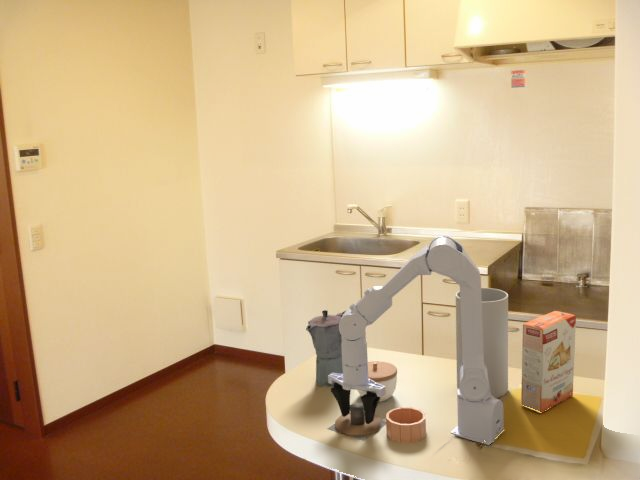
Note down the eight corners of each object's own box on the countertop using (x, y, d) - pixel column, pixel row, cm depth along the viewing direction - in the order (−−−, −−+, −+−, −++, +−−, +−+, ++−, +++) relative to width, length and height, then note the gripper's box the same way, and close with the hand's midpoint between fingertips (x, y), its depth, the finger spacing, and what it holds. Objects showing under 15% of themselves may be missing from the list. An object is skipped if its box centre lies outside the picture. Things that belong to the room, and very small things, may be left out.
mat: (388, 424, 153) (388, 422, 153) (363, 442, 146) (363, 440, 146) (353, 413, 160) (353, 411, 159) (327, 430, 152) (327, 428, 152)
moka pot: (299, 384, 178) (295, 312, 174) (341, 367, 188) (337, 299, 184) (324, 394, 171) (319, 320, 167) (365, 376, 181) (362, 305, 177)
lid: (389, 422, 153) (388, 402, 152) (363, 441, 145) (362, 420, 144) (352, 411, 160) (351, 392, 159) (326, 428, 152) (324, 409, 151)
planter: (433, 431, 149) (432, 413, 148) (413, 448, 142) (412, 428, 141) (400, 422, 154) (399, 403, 153) (379, 437, 148) (378, 418, 147)
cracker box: (542, 415, 153) (543, 328, 149) (520, 407, 158) (520, 323, 154) (575, 396, 162) (577, 314, 158) (552, 389, 167) (554, 309, 163)
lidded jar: (396, 408, 161) (394, 372, 159) (352, 407, 163) (350, 370, 161) (399, 389, 171) (398, 355, 169) (358, 388, 173) (356, 354, 172)
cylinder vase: (476, 375, 177) (475, 284, 172) (517, 389, 168) (518, 293, 163) (446, 390, 169) (445, 295, 164) (488, 405, 160) (488, 305, 155)
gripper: (318, 361, 151) (321, 417, 154) (371, 375, 142) (374, 433, 145) (337, 351, 156) (340, 405, 159) (389, 364, 147) (391, 421, 150)
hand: (357, 418), depth 152 cm, fingers open, 6 cm apart
